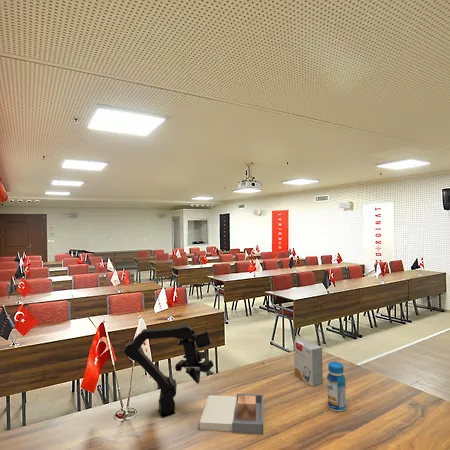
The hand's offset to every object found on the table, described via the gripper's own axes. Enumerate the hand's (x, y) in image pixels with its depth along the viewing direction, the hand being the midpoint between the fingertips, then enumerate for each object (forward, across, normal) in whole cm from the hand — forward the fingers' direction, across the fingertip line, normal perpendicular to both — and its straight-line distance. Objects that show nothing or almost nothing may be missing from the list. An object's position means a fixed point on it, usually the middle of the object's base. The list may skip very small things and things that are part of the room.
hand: (198, 383), depth 152 cm
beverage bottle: (+26, -53, -29) cm, 66 cm away
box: (+17, -20, -4) cm, 27 cm away
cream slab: (+14, -9, +1) cm, 17 cm away
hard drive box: (+26, -34, -50) cm, 66 cm away
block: (+12, -17, -3) cm, 21 cm away
